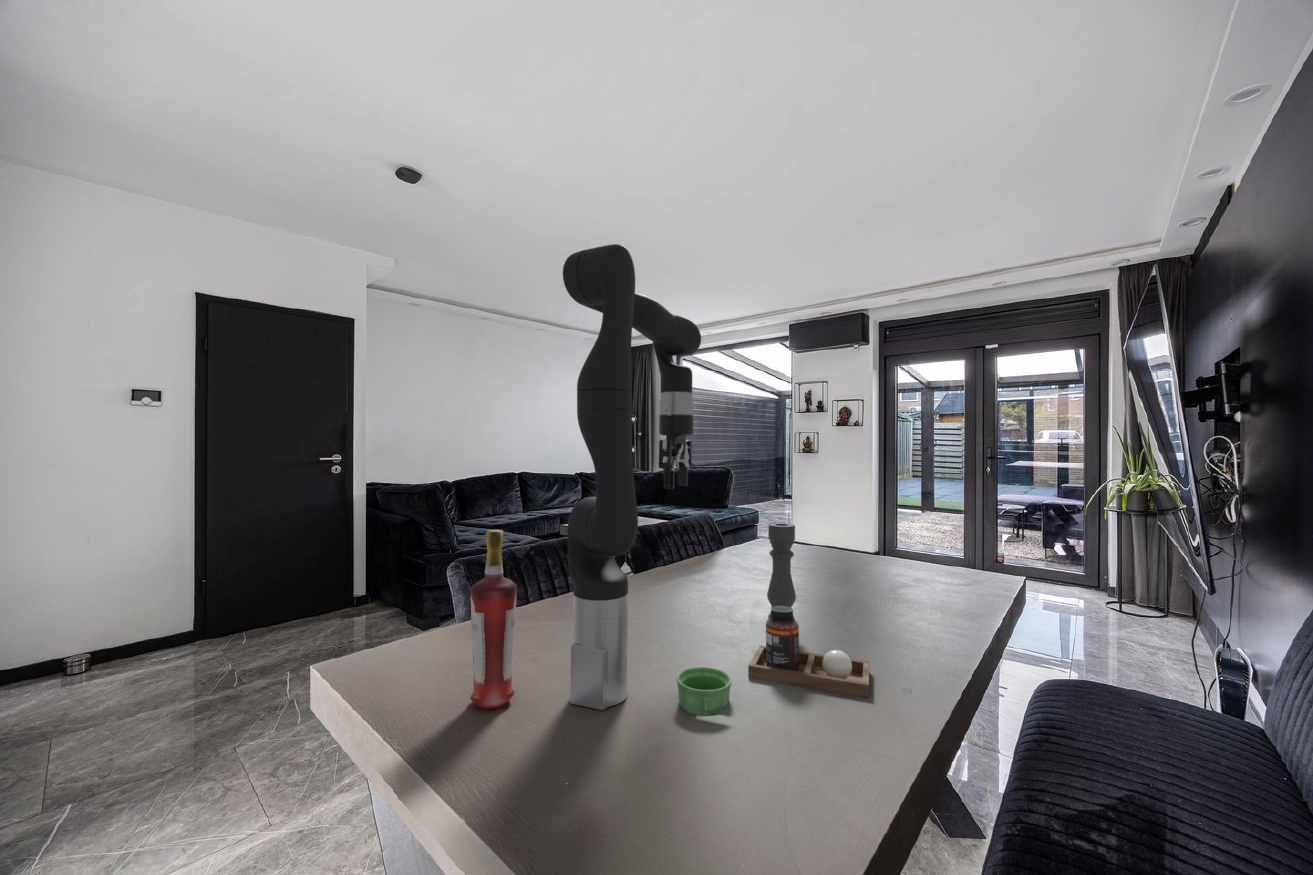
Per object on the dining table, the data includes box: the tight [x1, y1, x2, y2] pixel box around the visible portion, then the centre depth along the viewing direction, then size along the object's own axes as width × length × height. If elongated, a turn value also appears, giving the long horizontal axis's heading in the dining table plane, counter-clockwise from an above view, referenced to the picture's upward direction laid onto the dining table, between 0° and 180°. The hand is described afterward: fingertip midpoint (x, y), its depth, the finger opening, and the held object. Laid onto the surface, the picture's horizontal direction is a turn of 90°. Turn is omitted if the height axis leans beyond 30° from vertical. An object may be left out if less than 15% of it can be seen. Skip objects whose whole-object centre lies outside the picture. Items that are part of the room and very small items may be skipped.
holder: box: [747, 645, 870, 699], centre depth 96 cm, size 10×20×3 cm, turn 68°
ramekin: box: [676, 666, 733, 717], centre depth 87 cm, size 9×9×4 cm
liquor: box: [469, 529, 518, 711], centre depth 87 cm, size 7×7×28 cm
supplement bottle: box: [765, 606, 800, 671], centre depth 98 cm, size 6×6×11 cm
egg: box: [822, 649, 852, 679], centre depth 94 cm, size 5×5×5 cm
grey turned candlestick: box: [766, 522, 797, 621], centre depth 117 cm, size 6×6×25 cm
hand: (676, 487), depth 117 cm, fingers open, 8 cm apart
